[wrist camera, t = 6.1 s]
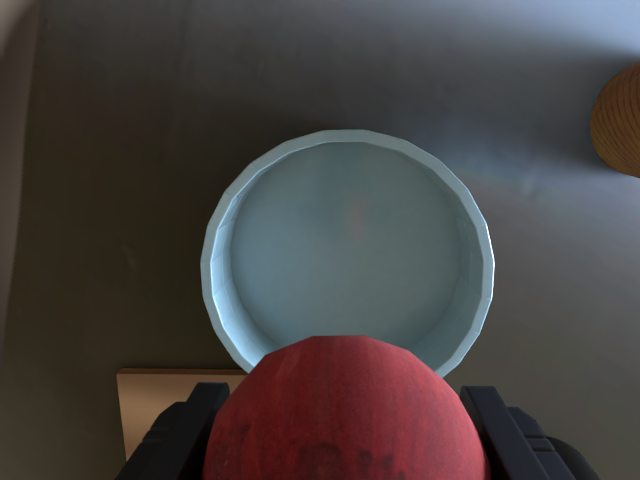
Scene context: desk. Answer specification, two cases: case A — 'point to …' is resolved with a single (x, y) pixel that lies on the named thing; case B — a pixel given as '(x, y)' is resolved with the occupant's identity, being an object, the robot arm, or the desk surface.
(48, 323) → the desk surface
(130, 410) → the plate
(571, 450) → the ink bottle
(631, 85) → the disposable coffee cup
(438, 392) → the onion
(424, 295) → the light blue bowl
